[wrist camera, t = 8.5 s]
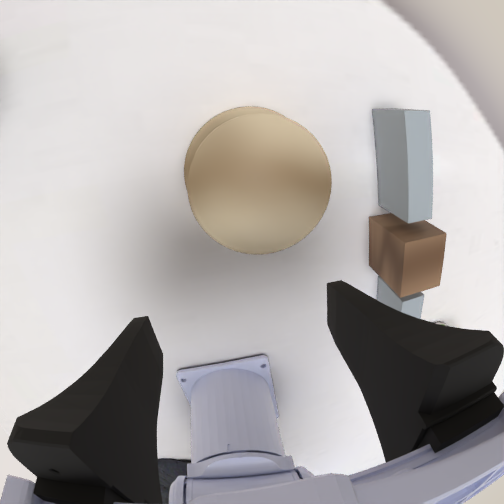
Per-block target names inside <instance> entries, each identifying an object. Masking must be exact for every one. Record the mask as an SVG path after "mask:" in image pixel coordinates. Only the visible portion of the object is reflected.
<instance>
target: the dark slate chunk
mask: <svg viewBox="0 0 504 504" xmlns="http://www.w3.org/2000/svg"><path fill="white" fill-rule="evenodd" d="M188 463H190V462H184V461H178V460H173V459H158V471H159V481H160V489H161V496H162V502H163V504H169V491H170V486H171V484H172V483H173V482H174V481H175V480H176V478H177V477H178V476H187V464H188Z"/></svg>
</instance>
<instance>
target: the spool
mask: <svg viewBox="0 0 504 504" xmlns="http://www.w3.org/2000/svg"><path fill="white" fill-rule="evenodd" d="M184 178H185V185H186V188H187V191H188V197H189V202H190V206H191V209H192V212H193V214H194V216H195V218H196V220H197V221H198V223H199V225H200V226H201V227H202V229H203V230H204V231H205V232H206V233H207V234H208V235H209V236H210V237H211V238H212V239H213V240H215V241H216V242H218V243H219V244H221V245H223V246H225V247H227V248H229V249H231V250H234V251H237V252H241V253H245V254H268V253H274V252H278V251H281V250H284V249H286V248H289V247H291V246H292V245H294V244H296V243H298V242H299V241H301V240H302V239H303V238H305V237H306V236H307V235H308V234H309V233H310V232H311V231H312V230H313V229H314V228H315V227H316V225H317V224H318V222H319V221H320V219H321V218H322V216H323V214H324V212H325V210H326V208H327V205H328V202H329V198H330V194H331V171H330V166H329V162H328V159H327V156H326V154H325V152H324V150H323V148H322V147H321V145H320V143H319V142H318V141H317V139H316V138H315V137H314V136H313V135H312V134H311V133H310V132H309V131H308V130H307V129H306V128H304V127H303V126H301V125H300V124H298V123H296V122H294V121H292V120H290V119H288V118H286V117H285V116H283V115H281V114H279V113H277V112H275V111H272V110H269V109H266V108H260V107H239V108H235V109H231V110H228V111H225V112H223V113H221V114H219V115H217V116H215V117H214V118H212V119H211V120H210V121H208V122H207V123H206V124H205V125H204V126H203V127H202V128H201V129H200V130H199V131H198V133H197V134H196V135H195V137H194V138H193V140H192V142H191V144H190V146H189V148H188V151H187V154H186V158H185V165H184Z"/></svg>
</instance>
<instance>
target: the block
mask: <svg viewBox="0 0 504 504" xmlns="http://www.w3.org/2000/svg"><path fill="white" fill-rule="evenodd" d="M445 242H446V233H445V232H443V231H442V230H440V229H438V228H437V227H435V226H433V225H432V224H430V223H428V222H427V221H425V220H423V221H418V222H413V223H407V222H405V221H403V220H402V219H400V218H399V217H397V216H395V215H394V214H392V213H389V214H383V215H378V216H372V217H369V266H370V267H371V268H372V269H373V270H374V271H375V272H376V273H377V274H378V275H379V276H380V277H381V278H382V279H383V280H384V281H385V282H386V283H387V284H388V285H389V287H390V288H391V289H392V290H393V291H394V292H395V293H396V294H397V295H398V296H399V297H400V298H401V297H405V296H408V295H411V294H415V293H418V292H421V291H424V290H427V289H430V288H434V287H437V286H440V280H441V273H442V266H443V259H444V251H445Z"/></svg>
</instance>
